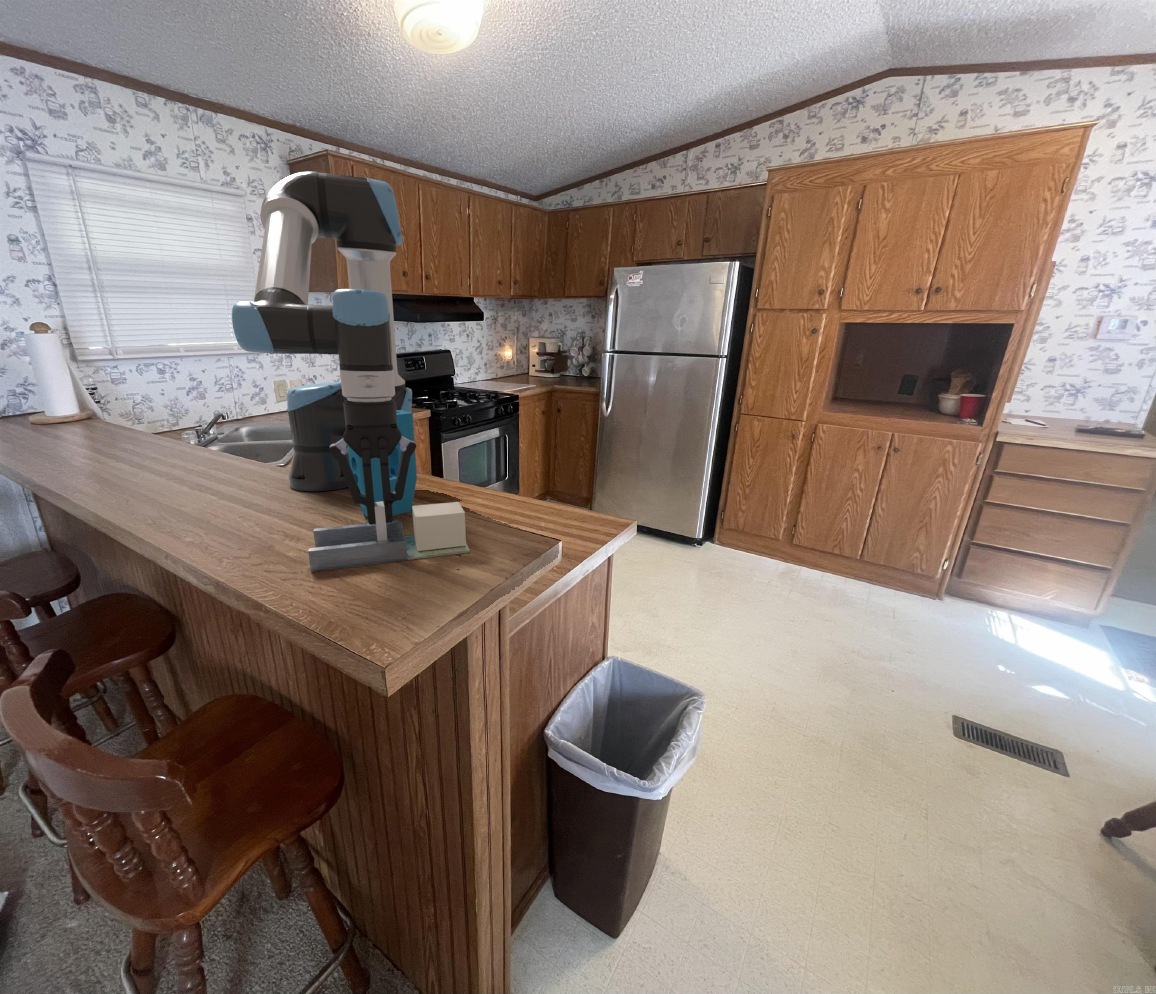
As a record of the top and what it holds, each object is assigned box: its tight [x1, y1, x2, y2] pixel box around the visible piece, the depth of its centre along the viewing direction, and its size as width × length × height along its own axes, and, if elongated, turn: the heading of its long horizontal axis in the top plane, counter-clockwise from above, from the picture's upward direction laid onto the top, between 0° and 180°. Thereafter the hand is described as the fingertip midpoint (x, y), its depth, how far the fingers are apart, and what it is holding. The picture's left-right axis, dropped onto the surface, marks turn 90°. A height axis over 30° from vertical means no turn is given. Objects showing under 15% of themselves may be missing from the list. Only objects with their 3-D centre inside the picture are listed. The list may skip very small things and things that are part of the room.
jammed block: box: [411, 501, 467, 551], centre depth 87 cm, size 6×8×6 cm
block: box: [348, 410, 418, 518], centre depth 100 cm, size 12×5×20 cm, turn 141°
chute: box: [307, 520, 471, 573], centre depth 85 cm, size 10×24×3 cm, turn 112°
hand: (382, 540), depth 85 cm, fingers closed
